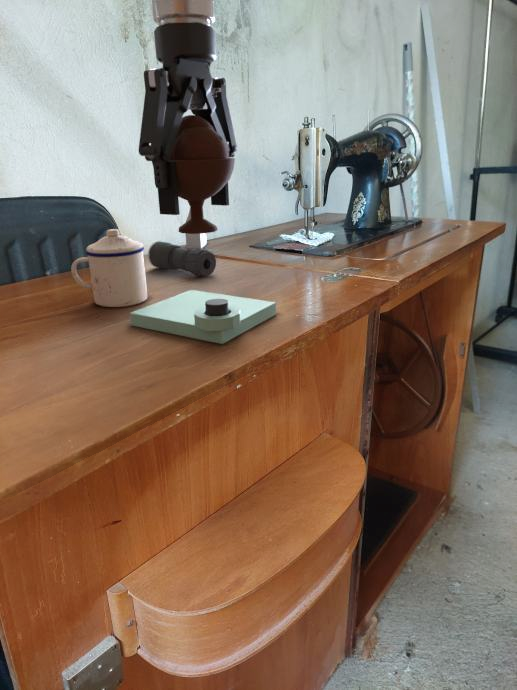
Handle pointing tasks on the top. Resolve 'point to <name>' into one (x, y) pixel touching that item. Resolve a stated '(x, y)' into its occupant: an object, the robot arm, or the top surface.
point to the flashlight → (181, 258)
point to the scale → (203, 316)
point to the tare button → (217, 307)
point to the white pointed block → (195, 238)
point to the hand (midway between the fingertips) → (196, 209)
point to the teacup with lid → (115, 271)
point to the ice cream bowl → (200, 169)
